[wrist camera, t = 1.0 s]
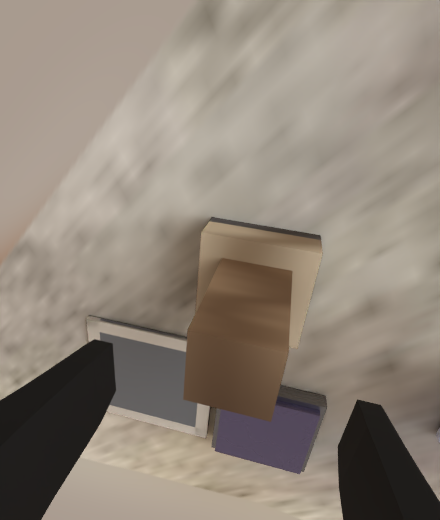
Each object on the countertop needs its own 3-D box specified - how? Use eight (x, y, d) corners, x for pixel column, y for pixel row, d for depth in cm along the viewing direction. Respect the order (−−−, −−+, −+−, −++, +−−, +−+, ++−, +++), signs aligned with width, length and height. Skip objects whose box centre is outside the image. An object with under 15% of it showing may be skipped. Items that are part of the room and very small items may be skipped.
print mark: (217, 344, 19) (216, 348, 19) (207, 434, 23) (205, 438, 22) (88, 315, 20) (85, 318, 20) (98, 405, 24) (96, 409, 24)
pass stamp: (320, 234, 15) (333, 332, 9) (297, 323, 17) (295, 449, 11) (212, 216, 16) (156, 295, 10) (204, 303, 18) (155, 412, 12)
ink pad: (325, 396, 19) (327, 413, 18) (303, 459, 22) (303, 478, 21) (223, 371, 20) (218, 387, 19) (214, 436, 23) (210, 452, 22)
